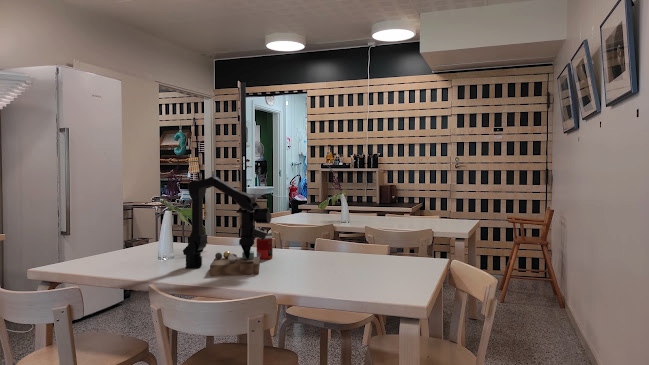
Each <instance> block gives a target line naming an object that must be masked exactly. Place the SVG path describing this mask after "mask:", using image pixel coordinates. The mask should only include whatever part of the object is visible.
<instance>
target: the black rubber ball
mask: <svg viewBox="0 0 649 365" xmlns="http://www.w3.org/2000/svg"><path fill="white" fill-rule="evenodd" d="M214 256H215V258H216V259H221V258H223V254H222V253H221V252H217V253H215V255H214Z"/></svg>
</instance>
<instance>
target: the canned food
mask: <svg viewBox="0 0 649 365" xmlns="http://www.w3.org/2000/svg"><path fill="white" fill-rule="evenodd" d="M256 257H260V261H267V260H272V259H273V236H272V235H266V237H265V240H263V239H261V238H258V237H256Z"/></svg>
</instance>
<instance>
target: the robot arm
mask: <svg viewBox="0 0 649 365" xmlns="http://www.w3.org/2000/svg"><path fill="white" fill-rule="evenodd" d="M212 187H213V188H214V189H217V190H219V191H220V192H222V193H224V194H225V195H227V196H229V197H230V198H232V199H233V200H234V201H235V203H236V204H237V205H238V206H240V207H239V208H238V209H237V210H236V213H237V214H240V238H239V240H238V245H239V246H240V247H241V249H242V252H243V251H244V254H245V256H246V258H249V255H250V251H252V250H251V249H252V246H255V240H256V238H257V237H258V238H261V239H263V240H265V237H266V236H267V234H268V232H267V231H265V228H264V227H260V228H256V226H255V223H256V224H271V222H272V213H271V211H270V207H265V208H264V207H263V208H262V207H260V206H259V204H258V203H257V201H256V197H255V196H254V195H252V194H250V193H249V192H248V193H247V192H244V191H241V190H239V189H237V188H235V187H234V186H232V185H231V184H228V183H227V182H225V181H223V180H222V179H220V177H218V176H209V177H208V178H204V179H193V180H190V182H189V183H188V185H187V189H188V194H189V197H190V200H191V232H190V235H189V237H188V240H187V241H188V242H187V245H186V247H185V248H183V250H182V253H183V255H184V256H185V267H184V269H200V268H201V267H202V266H203V255H202V253H203V252H204V249H205V248H206V247H207V244H208V243H209V242H208V234H206V233H204V231H203V230H204V229H203V228H204V226H203V222H204V220H203V219H204V218H203V216H204V215H203V211H204V209H203V208H204V207H203V205H204V202H203V201H204V197H205V196H206V193H207V192H206V191H207V189H210V188H212Z"/></svg>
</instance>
